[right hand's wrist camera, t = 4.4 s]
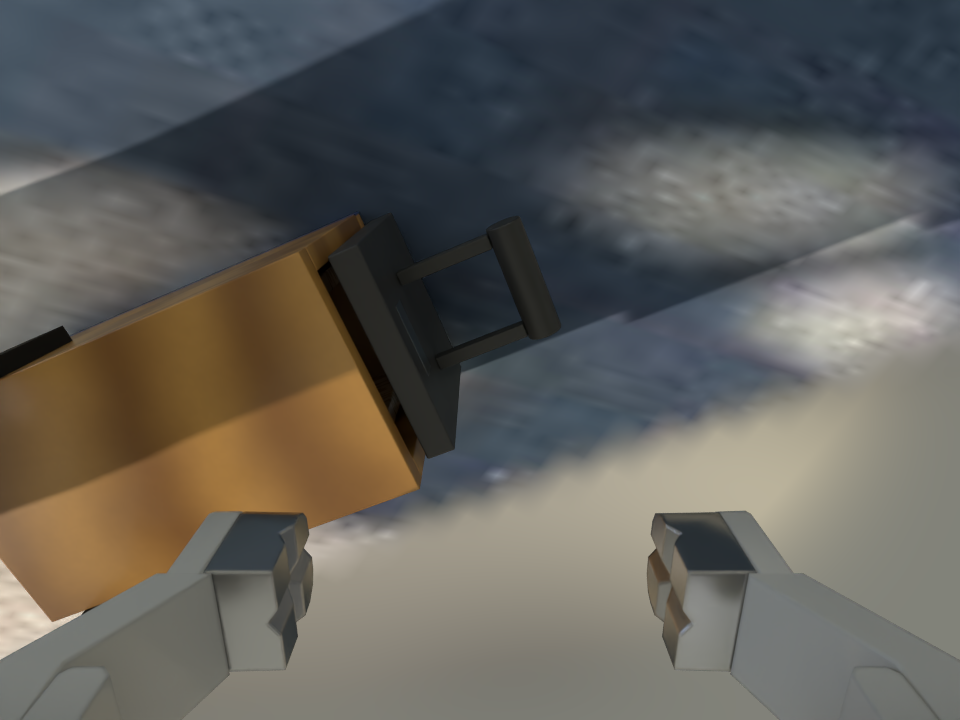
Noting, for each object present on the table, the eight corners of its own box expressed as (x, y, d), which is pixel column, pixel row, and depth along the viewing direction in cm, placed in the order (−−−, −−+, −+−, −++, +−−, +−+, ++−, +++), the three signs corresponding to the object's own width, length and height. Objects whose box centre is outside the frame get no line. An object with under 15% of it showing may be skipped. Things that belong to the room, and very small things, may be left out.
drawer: (499, 165, 30) (507, 180, 21) (561, 328, 32) (590, 399, 24) (115, 329, 32) (-15, 401, 24) (203, 466, 35) (115, 575, 27)
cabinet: (358, 211, 31) (298, 251, 21) (438, 381, 34) (420, 489, 24) (72, 334, 33) (-110, 426, 23) (172, 483, 37) (52, 622, 26)
